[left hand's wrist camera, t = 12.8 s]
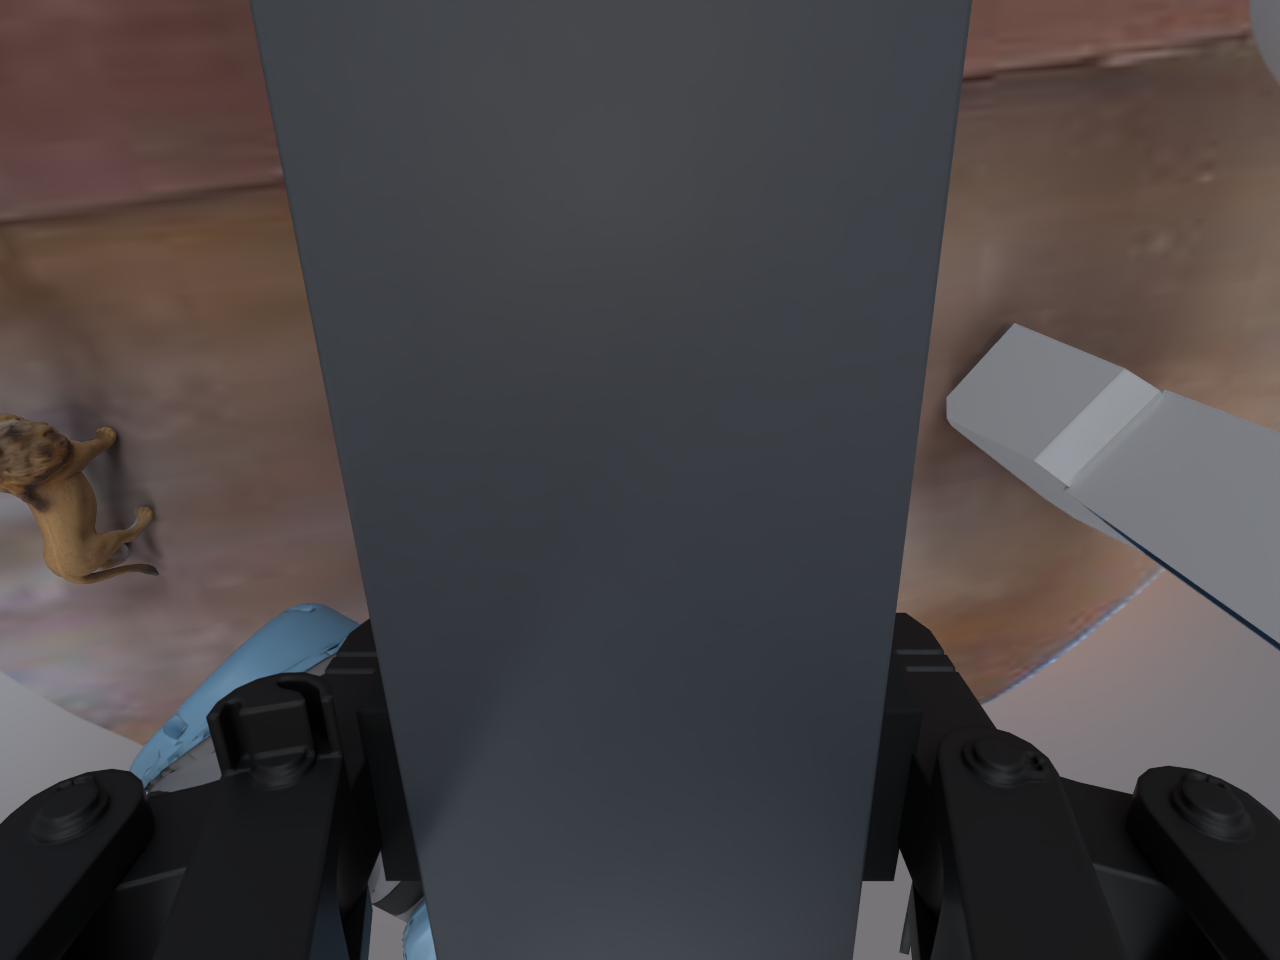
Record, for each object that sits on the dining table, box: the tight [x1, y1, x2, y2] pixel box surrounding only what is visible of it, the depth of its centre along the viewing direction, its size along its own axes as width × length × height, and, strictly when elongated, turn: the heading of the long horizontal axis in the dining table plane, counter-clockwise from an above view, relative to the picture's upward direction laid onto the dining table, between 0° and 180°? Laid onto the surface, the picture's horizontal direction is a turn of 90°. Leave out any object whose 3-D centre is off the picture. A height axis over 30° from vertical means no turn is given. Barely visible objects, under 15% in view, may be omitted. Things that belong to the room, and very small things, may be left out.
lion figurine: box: [0, 413, 159, 584], centre depth 47 cm, size 15×5×9 cm, turn 16°
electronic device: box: [947, 323, 1280, 651], centre depth 35 cm, size 12×8×30 cm, turn 54°
